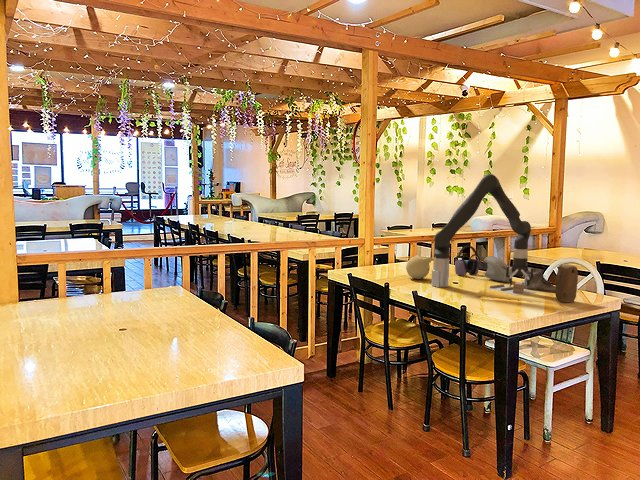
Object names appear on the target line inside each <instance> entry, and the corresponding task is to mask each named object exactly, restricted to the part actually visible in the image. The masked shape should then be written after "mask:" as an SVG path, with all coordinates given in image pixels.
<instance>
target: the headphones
mask: <svg viewBox="0 0 640 480" xmlns="http://www.w3.org/2000/svg"><path fill="white" fill-rule="evenodd" d="M467 248H470V249H471V250H472V252H473V254H471V256H470V257H469V259H468V260H467V262H466V260H465V259H464V257H463V256H462V255H461V254H462V253H463V252H464V250H466V249H467ZM473 257H477V259H475V258H473ZM458 258H460V259H458ZM480 260H481V259H480V256H479V255H478V254H477V250H476V249H475V247H473V246H471V245H464V246H463V247H461V249H460V251H458V255H456V256H455V257H454V271H455V274H456V275H457V276H459V277H463V276H466V275H467V274H471V275H474V274H475V275H478V274H479V270H480V263H481V262H480Z"/></svg>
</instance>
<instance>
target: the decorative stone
mask: <svg viewBox="0 0 640 480" xmlns="http://www.w3.org/2000/svg"><path fill="white" fill-rule="evenodd" d="M483 261H484V262H485V263H486V264H487V270H486V271H485V272H484V276H485V277H486V278H487V279H488V280H493V281H497V282H501V283H502V282H503V283H509V278H508V277H506V271H507V266H509V265H508V264H507V263H506V262H504V261H503V260H502V259H501V258H499V257H497V256H493V255H490V256H486V257H485V258H484V259H483ZM512 273H513V270H512V269H511V270H510V271H509V275H511V274H512Z"/></svg>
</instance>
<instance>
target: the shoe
mask: <svg viewBox="0 0 640 480" xmlns="http://www.w3.org/2000/svg"><path fill="white" fill-rule="evenodd" d="M527 274H528V276H529V277H531V272H529V271H527ZM523 282H524V290H527V291H540V292H547V293H554V294H555V287H556V285H555V284H552V283H550V281H549V280H547V279H546V278H545V275H543V274H542V272H541V271H533V279H530V284H529V285H528V286H527V278H526V277H525V276H524V279H523Z"/></svg>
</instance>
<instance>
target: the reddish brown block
mask: <svg viewBox="0 0 640 480" xmlns="http://www.w3.org/2000/svg"><path fill="white" fill-rule="evenodd" d="M512 285H513V286H512V287H513V293H517V294H523V291H524V290H525V289H524V282H522V281H514V283H512ZM523 295H524V294H523Z"/></svg>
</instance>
